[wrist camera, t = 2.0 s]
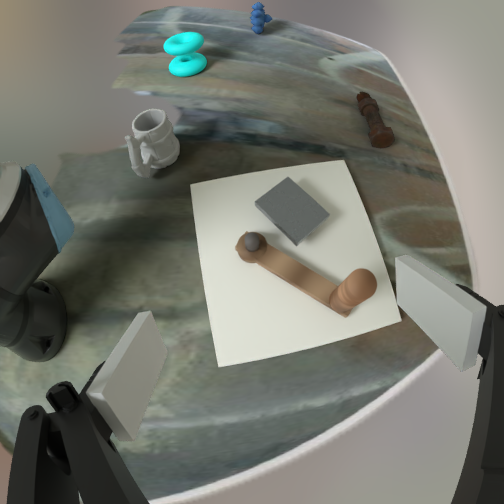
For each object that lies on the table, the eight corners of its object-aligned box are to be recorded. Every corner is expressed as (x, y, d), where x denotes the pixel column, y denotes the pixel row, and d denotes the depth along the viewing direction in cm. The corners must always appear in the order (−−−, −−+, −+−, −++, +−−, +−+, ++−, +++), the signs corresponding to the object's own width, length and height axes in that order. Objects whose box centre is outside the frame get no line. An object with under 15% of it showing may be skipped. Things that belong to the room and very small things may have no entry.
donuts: (189, 48, 53) (154, 47, 55) (195, 80, 62) (163, 76, 64) (210, 31, 56) (176, 29, 58) (214, 61, 66) (182, 58, 67)
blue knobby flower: (270, 41, 69) (271, 8, 58) (247, 40, 70) (246, 7, 59) (273, 27, 74) (274, -3, 62) (252, 26, 74) (251, -4, 63)
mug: (187, 142, 55) (175, 98, 43) (162, 191, 51) (141, 148, 39) (154, 138, 56) (138, 96, 44) (128, 184, 51) (103, 144, 40)
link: (231, 253, 44) (224, 221, 34) (248, 230, 45) (245, 194, 36) (343, 322, 40) (368, 309, 30) (356, 296, 41) (384, 276, 32)
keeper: (254, 217, 48) (254, 201, 44) (285, 193, 50) (287, 176, 45) (293, 255, 46) (297, 243, 41) (323, 228, 47) (330, 214, 43)
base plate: (220, 366, 40) (218, 367, 39) (191, 189, 51) (190, 184, 49) (397, 322, 42) (401, 320, 40) (341, 164, 52) (343, 159, 51)
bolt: (361, 107, 61) (380, 152, 55) (347, 98, 59) (365, 143, 53) (377, 93, 56) (400, 137, 51) (363, 83, 54) (385, 127, 48)
